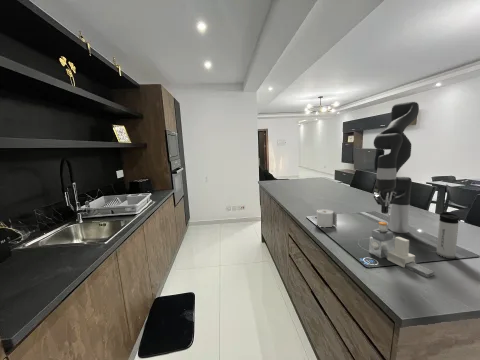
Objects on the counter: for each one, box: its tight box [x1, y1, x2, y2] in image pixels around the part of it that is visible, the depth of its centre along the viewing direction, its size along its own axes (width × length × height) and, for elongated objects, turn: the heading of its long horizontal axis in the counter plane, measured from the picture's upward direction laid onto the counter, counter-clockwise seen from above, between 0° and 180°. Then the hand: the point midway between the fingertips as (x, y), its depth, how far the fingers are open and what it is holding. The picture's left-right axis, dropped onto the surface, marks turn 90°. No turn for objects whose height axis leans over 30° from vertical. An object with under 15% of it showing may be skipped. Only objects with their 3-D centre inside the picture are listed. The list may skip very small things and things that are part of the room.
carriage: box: [387, 236, 416, 269], centre depth 93 cm, size 7×7×11 cm
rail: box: [383, 253, 436, 278], centre depth 91 cm, size 18×4×2 cm, turn 19°
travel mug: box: [436, 211, 460, 259], centre depth 96 cm, size 6×7×20 cm
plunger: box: [378, 221, 388, 233], centre depth 100 cm, size 3×3×5 cm
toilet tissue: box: [316, 208, 338, 228], centre depth 140 cm, size 11×12×10 cm
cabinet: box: [368, 228, 395, 259], centre depth 101 cm, size 6×9×12 cm, turn 109°
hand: (384, 213), depth 98 cm, fingers closed
